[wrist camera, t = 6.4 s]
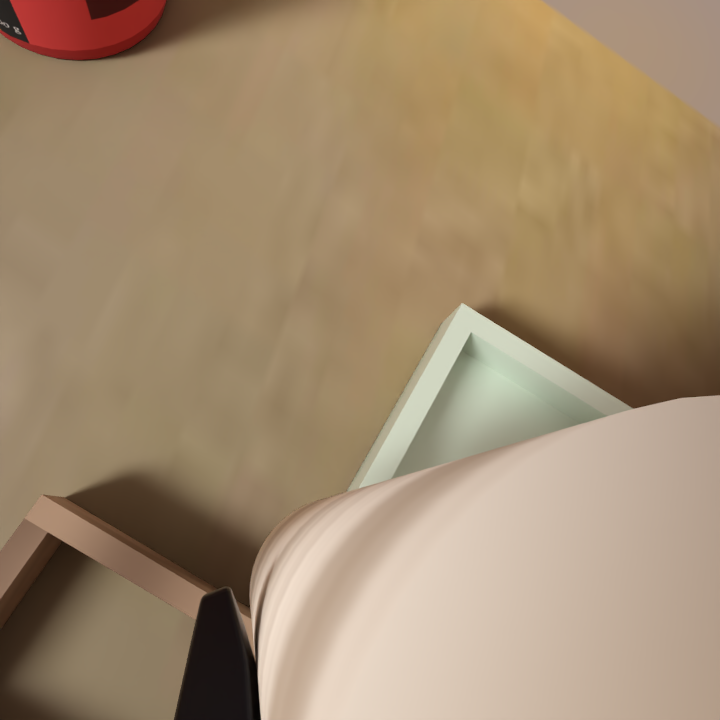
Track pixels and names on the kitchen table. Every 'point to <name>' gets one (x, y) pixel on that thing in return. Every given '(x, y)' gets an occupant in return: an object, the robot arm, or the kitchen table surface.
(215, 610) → the robot arm
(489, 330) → the tray
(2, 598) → the brown square open box
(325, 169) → the kitchen table surface
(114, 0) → the canned food
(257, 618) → the peg
